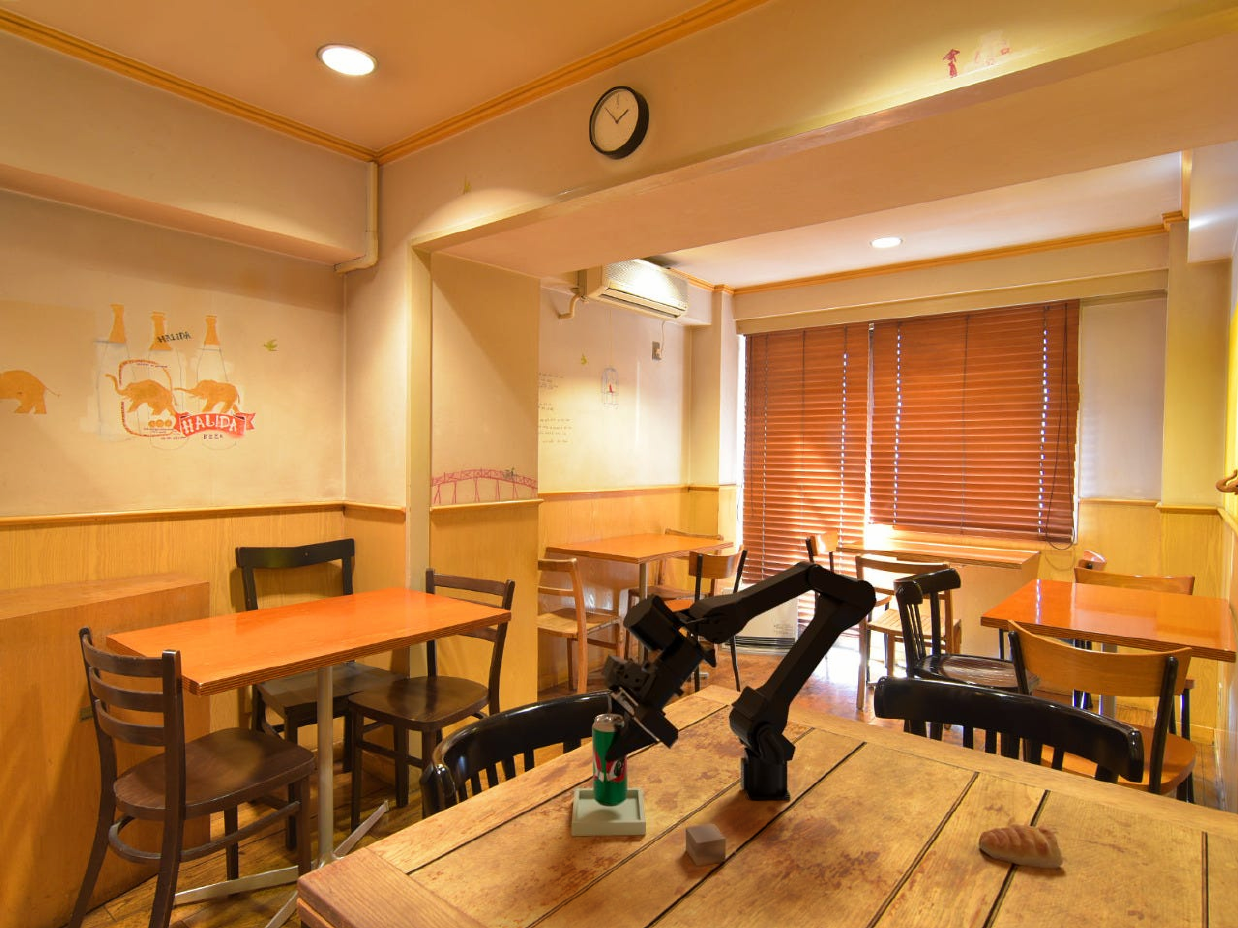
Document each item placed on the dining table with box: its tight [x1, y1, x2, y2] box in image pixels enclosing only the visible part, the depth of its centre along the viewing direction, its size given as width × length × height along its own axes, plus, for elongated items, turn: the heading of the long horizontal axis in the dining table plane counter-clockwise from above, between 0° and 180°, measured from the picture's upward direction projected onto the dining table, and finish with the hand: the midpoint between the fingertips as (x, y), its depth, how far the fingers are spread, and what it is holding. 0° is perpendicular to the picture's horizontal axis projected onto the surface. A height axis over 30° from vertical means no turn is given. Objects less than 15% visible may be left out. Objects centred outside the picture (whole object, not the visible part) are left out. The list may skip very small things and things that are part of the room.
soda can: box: [591, 713, 629, 807], centre depth 104 cm, size 5×5×12 cm
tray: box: [571, 787, 647, 837], centre depth 105 cm, size 10×10×2 cm
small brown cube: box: [685, 823, 727, 867], centre depth 94 cm, size 4×4×3 cm
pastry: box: [978, 823, 1064, 869], centre depth 94 cm, size 9×7×4 cm
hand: (600, 753), depth 104 cm, fingers closed on soda can, 5 cm apart
